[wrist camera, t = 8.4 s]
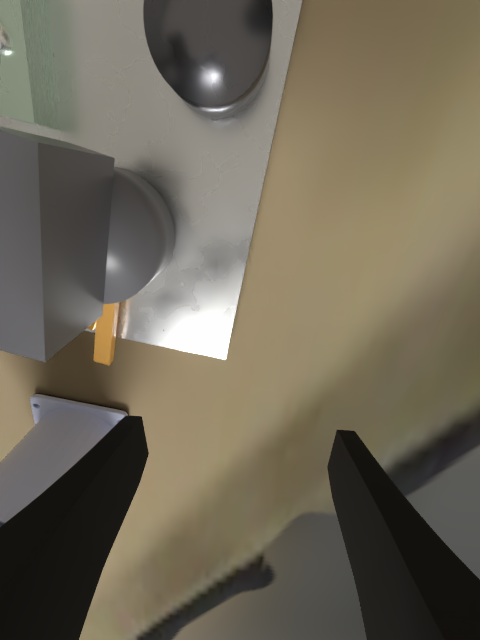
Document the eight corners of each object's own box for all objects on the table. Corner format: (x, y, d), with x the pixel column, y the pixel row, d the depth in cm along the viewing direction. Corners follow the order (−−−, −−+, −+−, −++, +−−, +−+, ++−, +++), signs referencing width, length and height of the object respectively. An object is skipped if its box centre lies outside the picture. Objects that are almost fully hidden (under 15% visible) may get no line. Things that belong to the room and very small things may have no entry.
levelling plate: (227, 347, 19) (220, 382, 16) (-55, 289, 19) (-127, 312, 15) (303, -6, 11) (322, -91, 8) (-185, -129, 11) (-397, -280, 7)
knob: (187, 178, 13) (121, 170, 7) (150, 368, 18) (95, 462, 12) (63, 136, 13) (-129, 86, 6) (62, 343, 18) (-43, 427, 12)
